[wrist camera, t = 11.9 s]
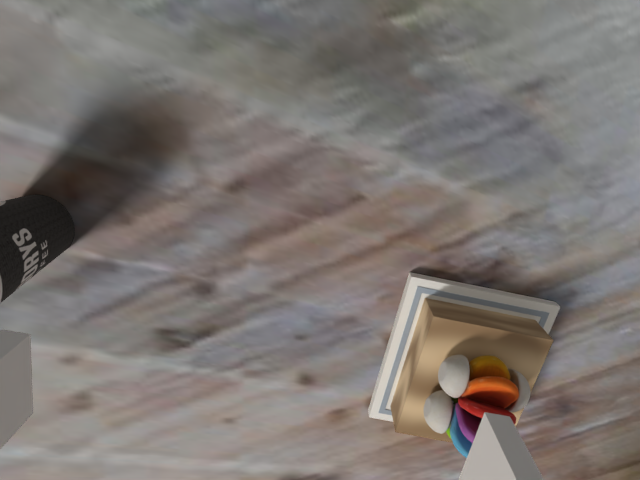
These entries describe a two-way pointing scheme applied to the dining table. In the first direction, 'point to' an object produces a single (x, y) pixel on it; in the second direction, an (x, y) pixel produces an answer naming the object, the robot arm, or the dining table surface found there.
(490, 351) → the oak plinth
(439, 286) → the build board
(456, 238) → the dining table surface
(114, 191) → the dining table surface
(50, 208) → the coffee cup
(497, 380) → the rainbow fan toy
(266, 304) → the dining table surface
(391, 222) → the dining table surface
